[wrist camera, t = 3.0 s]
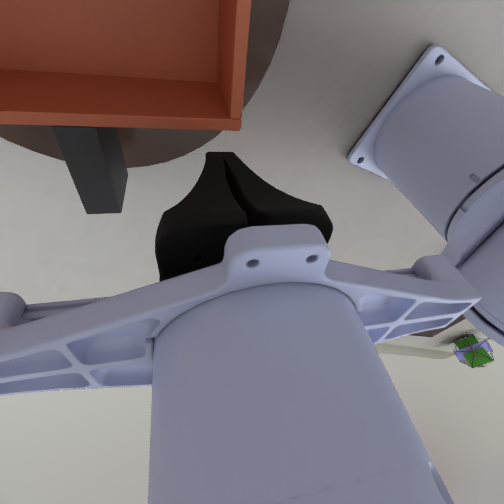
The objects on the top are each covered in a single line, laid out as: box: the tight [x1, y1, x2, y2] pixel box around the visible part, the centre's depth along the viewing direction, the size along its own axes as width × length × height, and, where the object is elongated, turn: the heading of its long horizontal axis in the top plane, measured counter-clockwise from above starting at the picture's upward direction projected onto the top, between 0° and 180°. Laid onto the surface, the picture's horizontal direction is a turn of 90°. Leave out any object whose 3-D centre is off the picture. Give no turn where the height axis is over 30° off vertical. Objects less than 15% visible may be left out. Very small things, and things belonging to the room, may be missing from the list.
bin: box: [0, 0, 251, 214], centre depth 11 cm, size 13×13×5 cm
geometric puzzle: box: [454, 335, 494, 368], centre depth 61 cm, size 7×7×8 cm
